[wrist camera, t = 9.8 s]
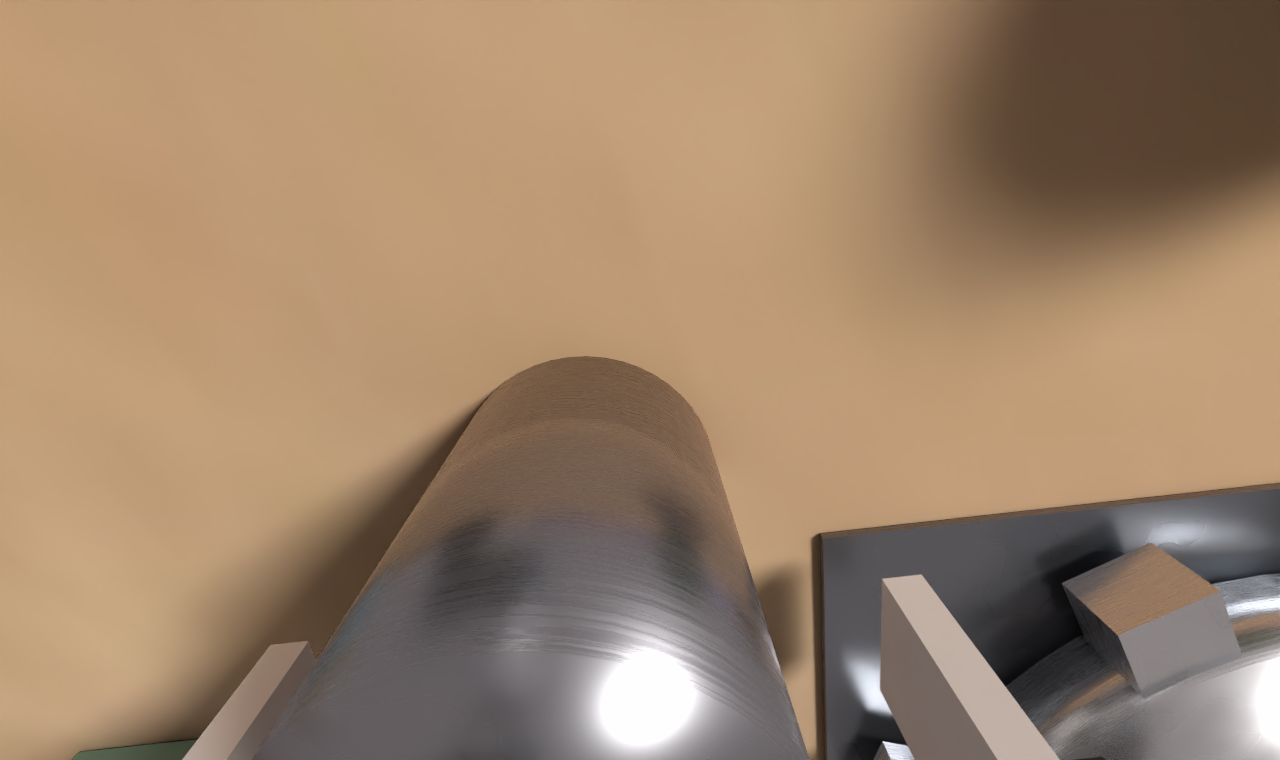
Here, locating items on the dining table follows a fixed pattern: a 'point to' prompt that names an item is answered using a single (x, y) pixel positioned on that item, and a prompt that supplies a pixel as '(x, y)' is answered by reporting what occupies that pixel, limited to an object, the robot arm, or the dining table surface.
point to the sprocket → (1158, 667)
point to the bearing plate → (1013, 583)
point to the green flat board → (141, 752)
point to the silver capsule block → (556, 597)
